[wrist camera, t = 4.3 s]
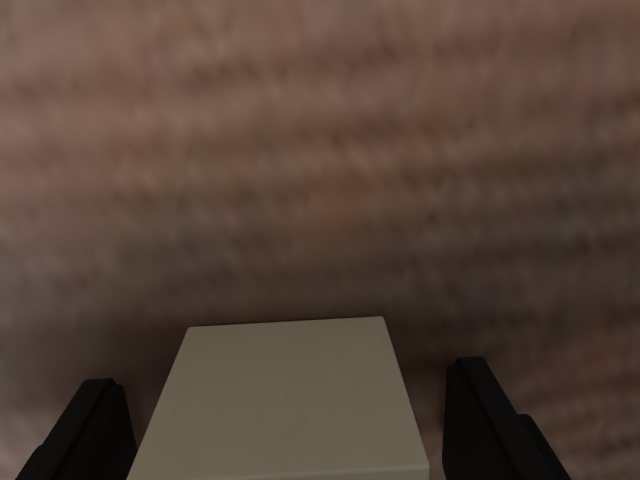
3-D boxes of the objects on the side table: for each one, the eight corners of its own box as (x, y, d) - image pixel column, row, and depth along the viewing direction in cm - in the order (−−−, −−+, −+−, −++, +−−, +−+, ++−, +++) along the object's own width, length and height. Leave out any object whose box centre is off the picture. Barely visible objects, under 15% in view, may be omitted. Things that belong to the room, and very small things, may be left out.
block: (383, 314, 11) (431, 466, 7) (383, 466, 13) (422, 662, 9) (187, 326, 11) (121, 485, 7) (211, 476, 13) (168, 679, 9)
